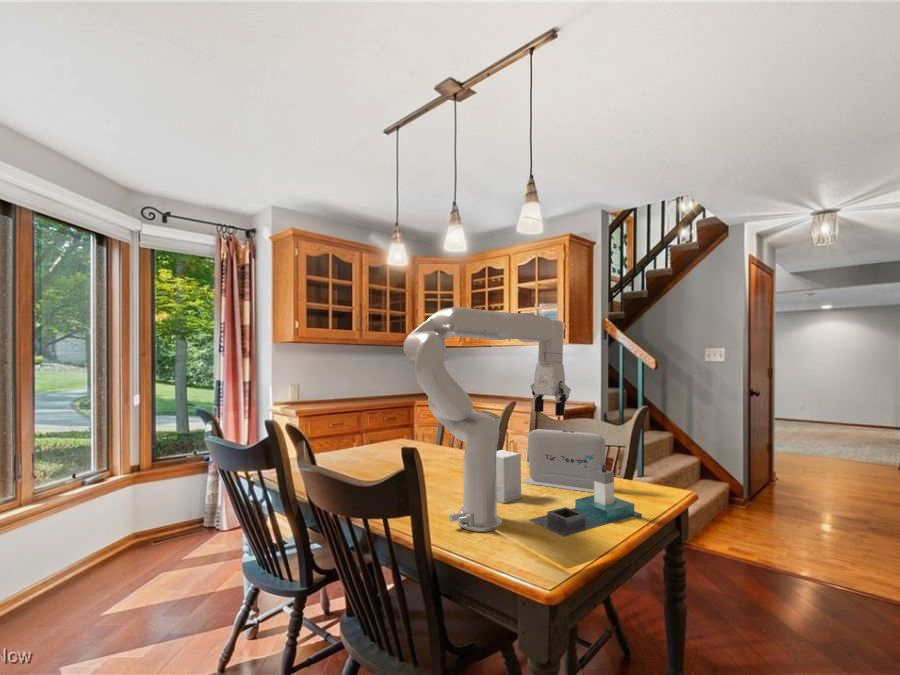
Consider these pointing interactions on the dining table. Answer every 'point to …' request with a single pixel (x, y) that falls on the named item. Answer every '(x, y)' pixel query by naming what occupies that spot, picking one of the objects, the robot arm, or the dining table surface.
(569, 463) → the wireless router
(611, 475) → the plug
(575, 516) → the panel
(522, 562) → the dining table surface
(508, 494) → the supplement box
